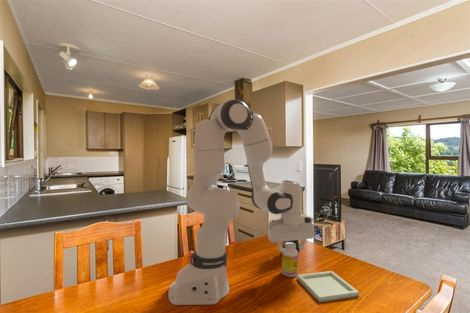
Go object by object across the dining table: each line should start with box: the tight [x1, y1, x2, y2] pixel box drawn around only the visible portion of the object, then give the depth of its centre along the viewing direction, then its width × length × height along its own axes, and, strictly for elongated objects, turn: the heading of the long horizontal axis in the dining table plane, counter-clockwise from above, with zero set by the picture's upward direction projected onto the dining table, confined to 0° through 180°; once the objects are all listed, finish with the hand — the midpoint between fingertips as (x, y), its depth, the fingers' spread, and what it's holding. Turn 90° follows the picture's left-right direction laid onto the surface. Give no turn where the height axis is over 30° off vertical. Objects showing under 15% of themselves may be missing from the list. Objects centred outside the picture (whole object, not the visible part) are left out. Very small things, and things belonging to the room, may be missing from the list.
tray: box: [297, 270, 360, 303], centre depth 95 cm, size 16×16×2 cm
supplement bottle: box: [281, 242, 299, 278], centre depth 106 cm, size 7×7×13 cm
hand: (291, 249), depth 106 cm, fingers open, 8 cm apart
